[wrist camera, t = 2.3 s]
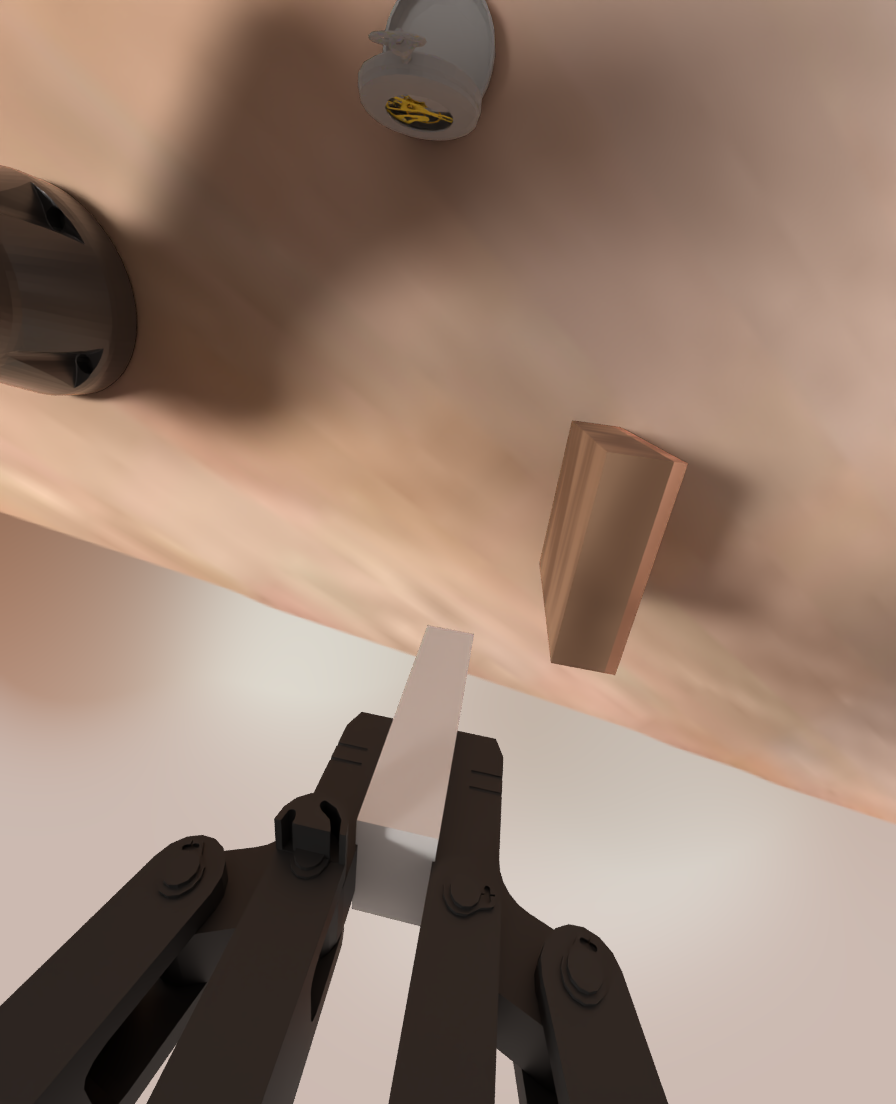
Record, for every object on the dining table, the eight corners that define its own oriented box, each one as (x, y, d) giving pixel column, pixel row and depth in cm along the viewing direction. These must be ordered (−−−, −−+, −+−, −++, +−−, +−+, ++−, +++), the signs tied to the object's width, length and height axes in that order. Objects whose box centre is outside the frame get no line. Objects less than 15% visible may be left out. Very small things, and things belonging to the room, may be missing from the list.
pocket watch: (466, -48, 24) (435, -303, 15) (525, 123, 27) (529, -7, 17) (346, 54, 27) (256, -112, 17) (410, 202, 29) (360, 124, 20)
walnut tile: (539, 563, 37) (550, 662, 25) (572, 420, 33) (607, 452, 20) (581, 570, 37) (615, 675, 24) (620, 427, 32) (688, 463, 20)
